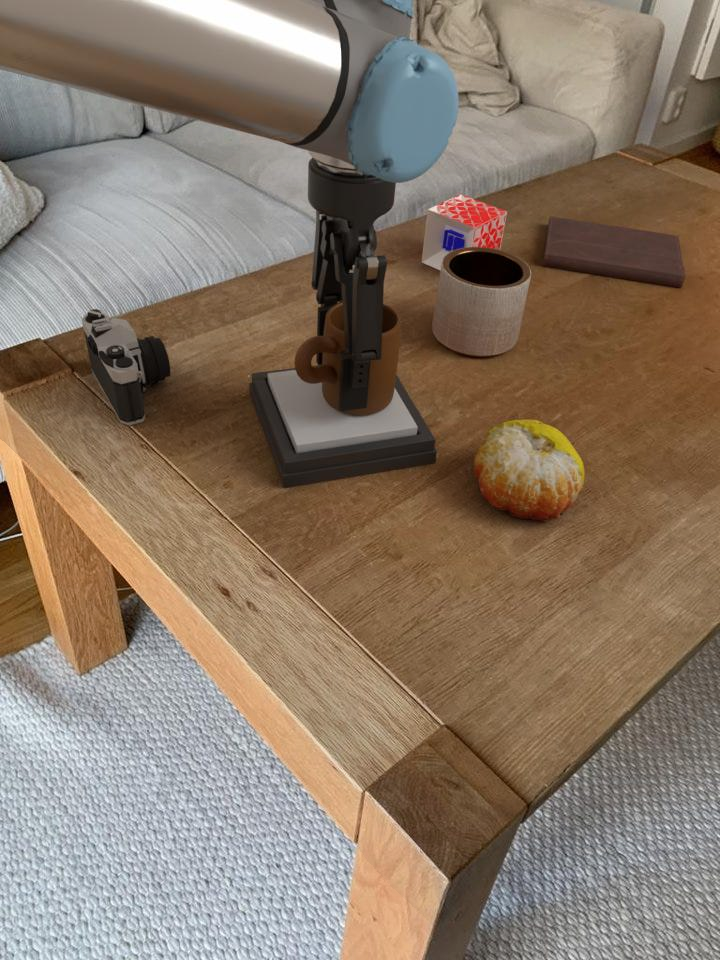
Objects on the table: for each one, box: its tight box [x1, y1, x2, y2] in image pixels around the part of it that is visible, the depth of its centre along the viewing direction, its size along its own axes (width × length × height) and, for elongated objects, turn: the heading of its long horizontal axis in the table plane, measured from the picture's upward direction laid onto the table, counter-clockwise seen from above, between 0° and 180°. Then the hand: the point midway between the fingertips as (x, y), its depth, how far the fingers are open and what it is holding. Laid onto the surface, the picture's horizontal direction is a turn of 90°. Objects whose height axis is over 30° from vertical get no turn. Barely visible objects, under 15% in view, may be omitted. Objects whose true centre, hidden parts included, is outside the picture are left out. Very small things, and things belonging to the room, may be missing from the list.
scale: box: [248, 364, 438, 489], centre depth 87 cm, size 16×16×3 cm
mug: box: [294, 302, 402, 415], centre depth 81 cm, size 12×8×9 cm, turn 131°
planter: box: [431, 247, 532, 358], centre depth 100 cm, size 11×11×10 cm
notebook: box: [542, 215, 686, 289], centre depth 122 cm, size 15×20×2 cm
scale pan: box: [268, 370, 418, 453], centre depth 86 cm, size 13×13×2 cm
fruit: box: [473, 419, 585, 522], centre depth 80 cm, size 11×10×8 cm
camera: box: [81, 308, 172, 426], centre depth 88 cm, size 13×8×9 cm, turn 32°
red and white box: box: [421, 193, 508, 271], centre depth 116 cm, size 8×8×8 cm
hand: (340, 383), depth 84 cm, fingers closed on mug, 8 cm apart
